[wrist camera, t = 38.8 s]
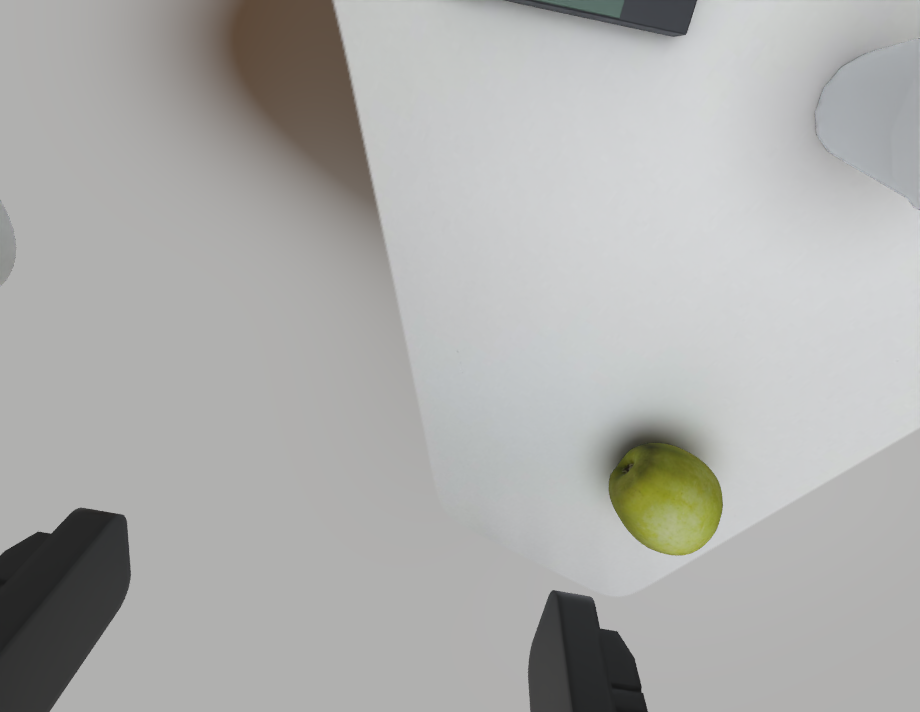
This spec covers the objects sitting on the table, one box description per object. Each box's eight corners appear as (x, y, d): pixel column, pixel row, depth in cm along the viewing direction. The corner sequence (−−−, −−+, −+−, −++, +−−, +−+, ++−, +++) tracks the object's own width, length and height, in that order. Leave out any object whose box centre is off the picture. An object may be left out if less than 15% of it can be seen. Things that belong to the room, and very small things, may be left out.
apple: (658, 522, 52) (686, 594, 45) (581, 468, 50) (596, 535, 43) (727, 465, 49) (768, 533, 42) (648, 405, 47) (677, 466, 40)
